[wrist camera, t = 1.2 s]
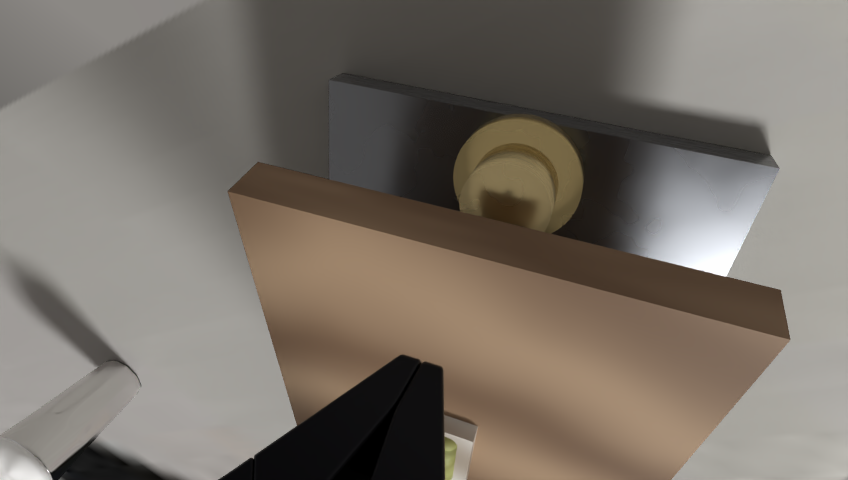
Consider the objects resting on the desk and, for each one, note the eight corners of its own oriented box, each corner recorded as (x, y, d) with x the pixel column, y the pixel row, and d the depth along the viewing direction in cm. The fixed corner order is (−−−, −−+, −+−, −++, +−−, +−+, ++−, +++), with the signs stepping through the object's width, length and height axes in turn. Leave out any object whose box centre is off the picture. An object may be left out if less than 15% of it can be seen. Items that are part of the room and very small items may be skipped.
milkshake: (105, 336, 37) (-45, 450, 29) (158, 390, 38) (29, 514, 30) (80, 355, 39) (-64, 466, 31) (131, 405, 40) (5, 525, 32)
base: (627, 455, 26) (627, 539, 22) (339, 359, 30) (299, 418, 26) (775, 147, 17) (813, 202, 14) (342, 65, 21) (282, 92, 17)
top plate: (608, 504, 23) (600, 583, 21) (325, 403, 26) (293, 463, 24) (776, 266, 13) (797, 374, 10) (272, 147, 16) (207, 211, 14)
